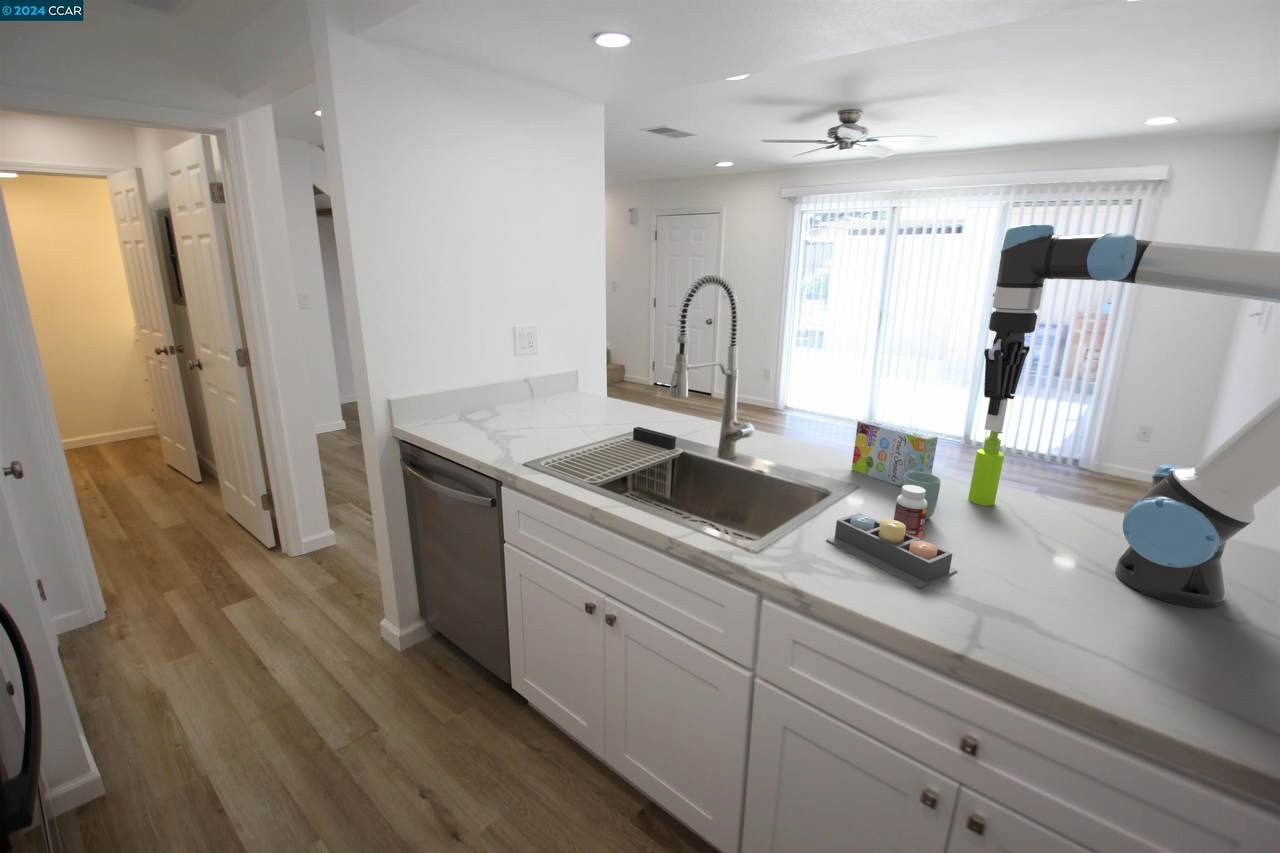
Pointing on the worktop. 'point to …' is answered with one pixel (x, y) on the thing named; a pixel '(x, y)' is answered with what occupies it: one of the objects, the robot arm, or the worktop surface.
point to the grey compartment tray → (892, 554)
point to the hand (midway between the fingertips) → (993, 430)
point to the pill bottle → (911, 509)
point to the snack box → (892, 451)
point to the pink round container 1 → (923, 549)
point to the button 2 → (892, 531)
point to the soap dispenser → (987, 472)
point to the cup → (929, 484)
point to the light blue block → (862, 522)
